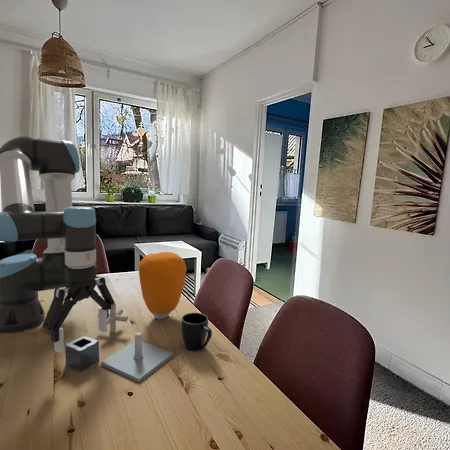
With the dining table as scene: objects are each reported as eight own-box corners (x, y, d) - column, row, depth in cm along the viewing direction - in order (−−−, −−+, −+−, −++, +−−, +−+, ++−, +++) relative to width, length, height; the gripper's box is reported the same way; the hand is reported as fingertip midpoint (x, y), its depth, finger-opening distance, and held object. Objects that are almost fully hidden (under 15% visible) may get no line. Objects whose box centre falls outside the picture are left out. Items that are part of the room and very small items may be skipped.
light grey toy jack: (118, 340, 97) (118, 311, 96) (90, 336, 99) (90, 307, 98) (133, 326, 107) (133, 299, 106) (108, 322, 109) (107, 295, 107)
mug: (196, 363, 87) (197, 332, 86) (176, 344, 97) (176, 316, 95) (219, 354, 93) (220, 324, 91) (197, 337, 102) (198, 310, 100)
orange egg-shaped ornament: (170, 305, 127) (172, 246, 123) (193, 320, 114) (195, 255, 110) (130, 315, 116) (131, 250, 112) (150, 333, 103) (152, 261, 99)
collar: (65, 364, 84) (65, 344, 83) (84, 354, 89) (84, 335, 88) (80, 372, 81) (79, 351, 80) (99, 361, 86) (98, 341, 85)
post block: (101, 365, 84) (100, 338, 83) (137, 342, 97) (137, 318, 96) (139, 382, 78) (139, 353, 77) (173, 356, 90) (173, 330, 89)
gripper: (43, 279, 68) (46, 367, 71) (126, 258, 90) (126, 326, 93) (23, 273, 72) (27, 358, 74) (108, 254, 94) (109, 320, 96)
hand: (82, 340), depth 84 cm, fingers open, 13 cm apart
